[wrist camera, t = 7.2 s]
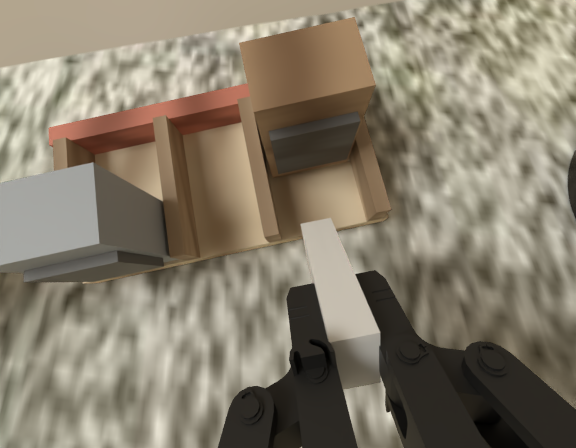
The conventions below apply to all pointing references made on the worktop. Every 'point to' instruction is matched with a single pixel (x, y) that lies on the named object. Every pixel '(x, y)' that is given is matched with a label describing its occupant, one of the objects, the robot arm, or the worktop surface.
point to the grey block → (79, 226)
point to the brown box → (308, 94)
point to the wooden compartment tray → (221, 174)
